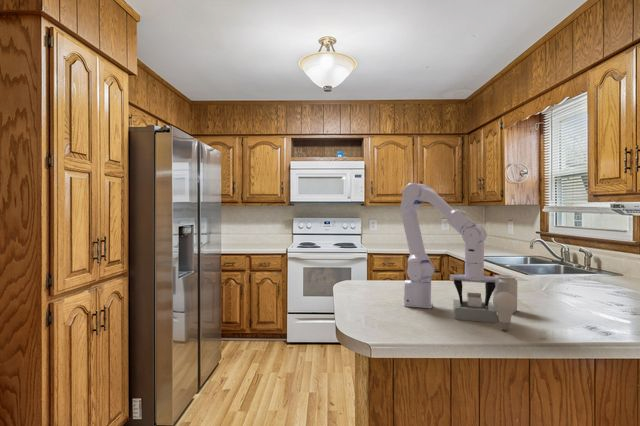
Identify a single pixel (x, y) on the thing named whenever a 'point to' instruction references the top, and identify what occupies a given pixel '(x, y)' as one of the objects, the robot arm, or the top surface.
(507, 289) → the can
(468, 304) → the bracket
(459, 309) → the well block
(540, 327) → the top surface
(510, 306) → the lightbulb
